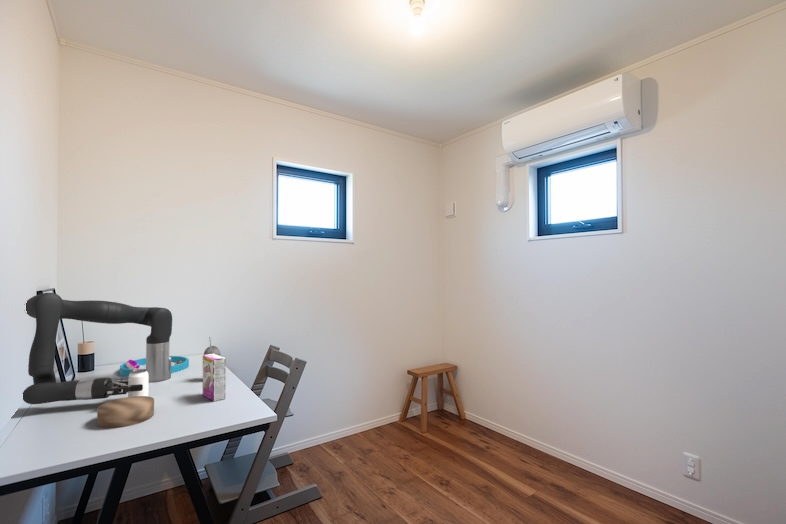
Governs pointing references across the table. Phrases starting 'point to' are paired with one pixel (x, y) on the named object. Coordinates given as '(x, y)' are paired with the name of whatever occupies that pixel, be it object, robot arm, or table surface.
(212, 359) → the candy bar box
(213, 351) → the beverage cup
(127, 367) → the blue ring
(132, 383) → the can
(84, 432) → the table surface
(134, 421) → the tan rounded flat lump
